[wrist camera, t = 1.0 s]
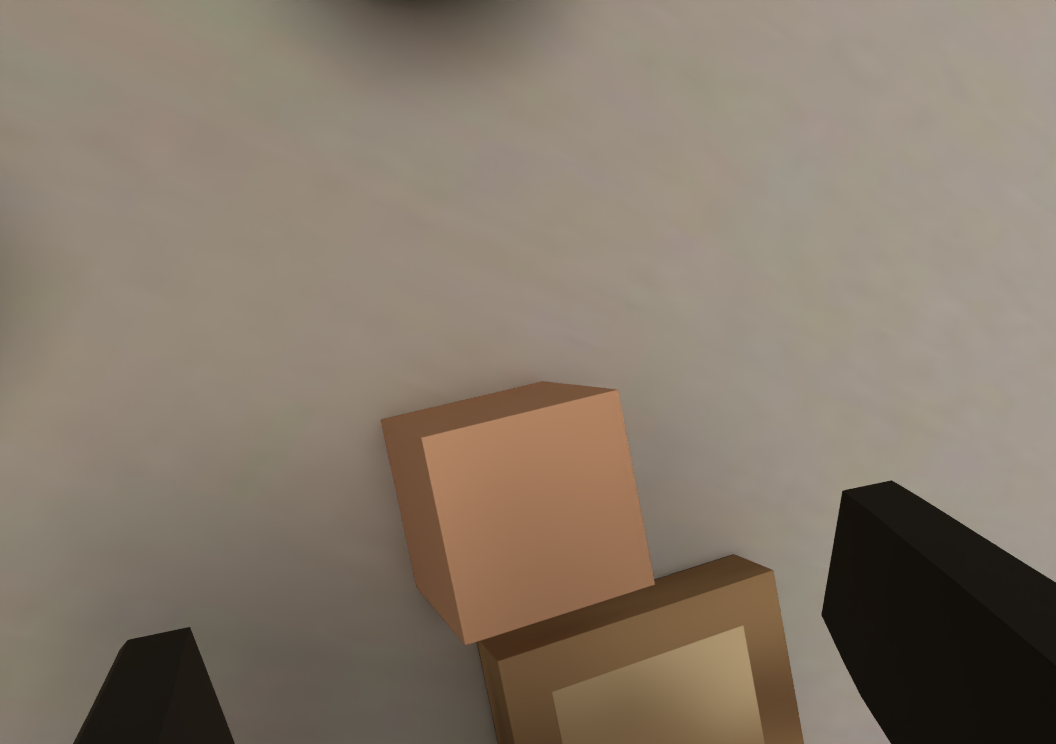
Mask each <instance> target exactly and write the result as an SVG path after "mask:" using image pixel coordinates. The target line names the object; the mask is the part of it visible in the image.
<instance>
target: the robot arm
mask: <svg viewBox="0 0 1056 744" xmlns="http://www.w3.org/2000/svg"><path fill="white" fill-rule="evenodd" d="M822 617H823V619H824V621H825V624H826V626H827V628H828V630H829V632H830V634H831V636H832V638H833V641H834V643H835V645H836V647H837V649H838V651H839V653H840V655H841V658H842V660H843V662H844V664H845V666H846V668H847V670H848V672H849V674H850V676H851V677H852V679H853V681H854V683H855V685H856V687H857V689H858V691H859V693H860V695H861V697H862V699H863V700H864V702H865V703H866V705H867V707H868V708H869V710H870V711H871V713H872V715H873V716H874V718H875V719H876V721H877V722H878V724H879V725H880V727H881V729H882V730H883V732H884V733H885V735H886V736H887V738H888V740H889V741H890V743H891V744H1056V582H1054V581H1053V580H1051V579H1049V578H1048V577H1046V576H1044V575H1043V574H1041V573H1039V572H1038V571H1036V570H1035V569H1033V568H1031V567H1030V566H1028V565H1027V564H1025V563H1023V562H1022V561H1020V560H1019V559H1017V558H1015V557H1014V556H1012V555H1011V554H1009V553H1007V552H1006V551H1004V550H1003V549H1001V548H1000V547H998V546H996V545H995V544H993V543H992V542H990V541H988V540H987V539H985V538H984V537H982V536H980V535H979V534H977V533H976V532H974V531H973V530H971V529H969V528H968V527H966V526H965V525H963V524H962V523H960V522H958V521H957V520H955V519H954V518H952V517H951V516H949V515H947V514H946V513H944V512H943V511H941V510H939V509H938V508H936V507H935V506H933V505H931V504H930V503H928V502H927V501H925V500H923V499H922V498H920V497H919V496H917V495H915V494H914V493H912V492H910V491H909V490H907V489H905V488H904V487H902V486H900V485H899V484H897V483H895V482H893V481H892V480H891V481H887V482H882V483H877V484H872V485H867V486H863V487H858V488H853V489H848V490H844V491H842V497H841V503H840V509H839V515H838V520H837V526H836V532H835V538H834V544H833V550H832V556H831V562H830V568H829V573H828V579H827V585H826V591H825V597H824V603H823V609H822ZM73 744H235V743H234V740H233V738H232V735H231V732H230V730H229V727H228V725H227V722H226V719H225V717H224V714H223V712H222V709H221V706H220V704H219V701H218V699H217V696H216V693H215V691H214V688H213V686H212V683H211V680H210V678H209V675H208V673H207V670H206V667H205V665H204V662H203V660H202V657H201V654H200V652H199V649H198V647H197V644H196V641H195V639H194V636H193V634H192V631H191V628H190V627H188V628H183V629H178V630H173V631H168V632H164V633H159V634H154V635H149V636H144V637H140V638H135V639H130V640H128V641H127V642H126V643H125V644H124V645H123V647H122V648H121V649H120V650H119V652H118V654H117V657H116V659H115V661H114V663H113V665H112V667H111V669H110V671H109V673H108V675H107V677H106V679H105V681H104V683H103V685H102V687H101V689H100V691H99V694H98V696H97V698H96V700H95V702H94V704H93V706H92V708H91V710H90V712H89V714H88V716H87V718H86V720H85V722H84V724H83V725H82V727H81V729H80V731H79V733H78V735H77V737H76V739H75V741H74V743H73Z"/></svg>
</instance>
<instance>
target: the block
mask: <svg viewBox="0 0 1056 744" xmlns="http://www.w3.org/2000/svg"><path fill="white" fill-rule="evenodd" d="M381 423H382V428H383V433H384V437H385V442H386V447H387V451H388V456H389V461H390V465H391V470H392V475H393V479H394V484H395V488H396V493H397V498H398V502H399V507H400V512H401V516H402V521H403V526H404V530H405V535H406V540H407V544H408V549H409V554H410V558H411V563H412V567H413V572H414V577H415V581H416V586H417V588H418V589H419V591H420V592H421V593H422V594H423V595H424V597H425V598H426V599H427V600H428V601H429V603H430V604H431V605H432V606H433V607H434V609H435V610H436V611H437V612H438V613H439V614H440V616H441V617H442V618H443V619H444V620H445V622H446V623H447V624H448V625H449V626H450V628H451V629H452V630H453V631H454V632H455V634H456V635H457V636H458V637H459V638H460V640H461V641H462V642H463V643H464V644H465V645H468V644H471V643H475V642H478V641H481V640H484V639H487V638H490V637H493V636H496V635H499V634H502V633H506V632H509V631H512V630H515V629H518V628H521V627H524V626H527V625H530V624H534V623H537V622H540V621H543V620H546V619H549V618H552V617H555V616H558V615H562V614H565V613H568V612H571V611H574V610H577V609H580V608H583V607H586V606H590V605H593V604H596V603H599V602H602V601H605V600H608V599H611V598H614V597H618V596H621V595H624V594H627V593H630V592H633V591H636V590H639V589H642V588H646V587H649V586H652V585H655V582H654V577H653V572H652V567H651V561H650V556H649V551H648V546H647V540H646V535H645V530H644V525H643V519H642V514H641V509H640V504H639V498H638V493H637V488H636V483H635V477H634V472H633V467H632V462H631V456H630V451H629V446H628V440H627V435H626V430H625V425H624V419H623V414H622V409H621V404H620V398H619V393H618V390H617V389H607V388H598V387H589V386H580V385H571V384H562V383H552V382H538V383H534V384H530V385H526V386H521V387H517V388H513V389H509V390H504V391H500V392H496V393H492V394H487V395H483V396H479V397H475V398H470V399H466V400H462V401H458V402H453V403H449V404H445V405H441V406H436V407H432V408H428V409H424V410H419V411H415V412H411V413H407V414H402V415H398V416H394V417H390V418H385V419H381Z"/></svg>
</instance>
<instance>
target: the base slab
mask: <svg viewBox="0 0 1056 744" xmlns="http://www.w3.org/2000/svg"><path fill="white" fill-rule="evenodd" d="M654 582H655V585H652V586H649V587H646V588H642V589H639V590H636V591H633V592H630V593H627V594H624V595H621V596H618V597H614V598H611V599H608V600H605V601H602V602H599V603H596V604H593V605H590V606H586V607H583V608H580V609H577V610H574V611H571V612H568V613H565V614H562V615H558V616H555V617H552V618H549V619H546V620H543V621H540V622H537V623H534V624H530V625H527V626H524V627H521V628H518V629H515V630H512V631H509V632H506V633H502V634H499V635H496V636H493V637H490V638H487V639H484V640H481V641H478V642H477V644H478V649H479V654H480V658H481V663H482V668H483V673H484V677H485V682H486V687H487V692H488V696H489V701H490V706H491V711H492V715H493V720H494V725H495V730H496V734H497V739H498V744H804V741H803V735H802V730H801V724H800V718H799V713H798V707H797V702H796V696H795V690H794V685H793V679H792V673H791V668H790V662H789V656H788V651H787V645H786V639H785V634H784V628H783V622H782V617H781V611H780V606H779V600H778V594H777V589H776V583H775V577H774V572H773V570H771V569H769V568H766V567H764V566H762V565H759V564H757V563H754V562H752V561H749V560H747V559H744V558H742V557H739V556H737V555H731V556H728V557H725V558H722V559H718V560H715V561H712V562H709V563H706V564H703V565H700V566H697V567H693V568H690V569H687V570H684V571H681V572H678V573H675V574H672V575H668V576H665V577H662V578H659V579H656V580H654Z"/></svg>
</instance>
